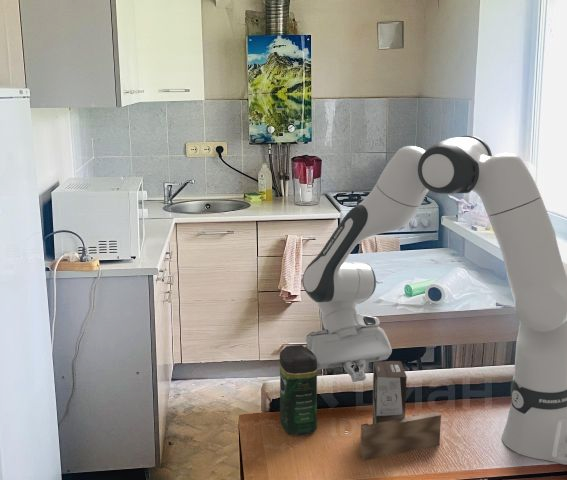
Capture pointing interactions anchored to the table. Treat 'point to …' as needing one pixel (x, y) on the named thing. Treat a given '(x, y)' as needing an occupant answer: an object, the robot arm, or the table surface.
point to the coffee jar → (298, 390)
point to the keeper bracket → (400, 435)
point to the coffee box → (388, 391)
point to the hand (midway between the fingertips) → (359, 380)
